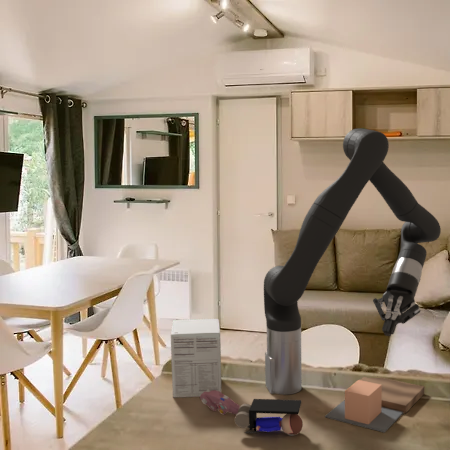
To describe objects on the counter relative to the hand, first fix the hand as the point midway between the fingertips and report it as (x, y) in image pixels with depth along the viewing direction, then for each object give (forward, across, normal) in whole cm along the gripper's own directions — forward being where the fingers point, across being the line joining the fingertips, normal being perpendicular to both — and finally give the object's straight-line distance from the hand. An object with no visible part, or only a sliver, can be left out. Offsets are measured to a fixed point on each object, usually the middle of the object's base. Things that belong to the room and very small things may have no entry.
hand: (387, 334), depth 165 cm
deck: (+12, 0, +11) cm, 17 cm away
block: (+17, 0, +1) cm, 17 cm away
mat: (+22, 0, +2) cm, 22 cm away
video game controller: (+34, -31, -10) cm, 47 cm away
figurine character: (+36, -15, -12) cm, 41 cm away
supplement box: (+28, -45, -4) cm, 53 cm away
